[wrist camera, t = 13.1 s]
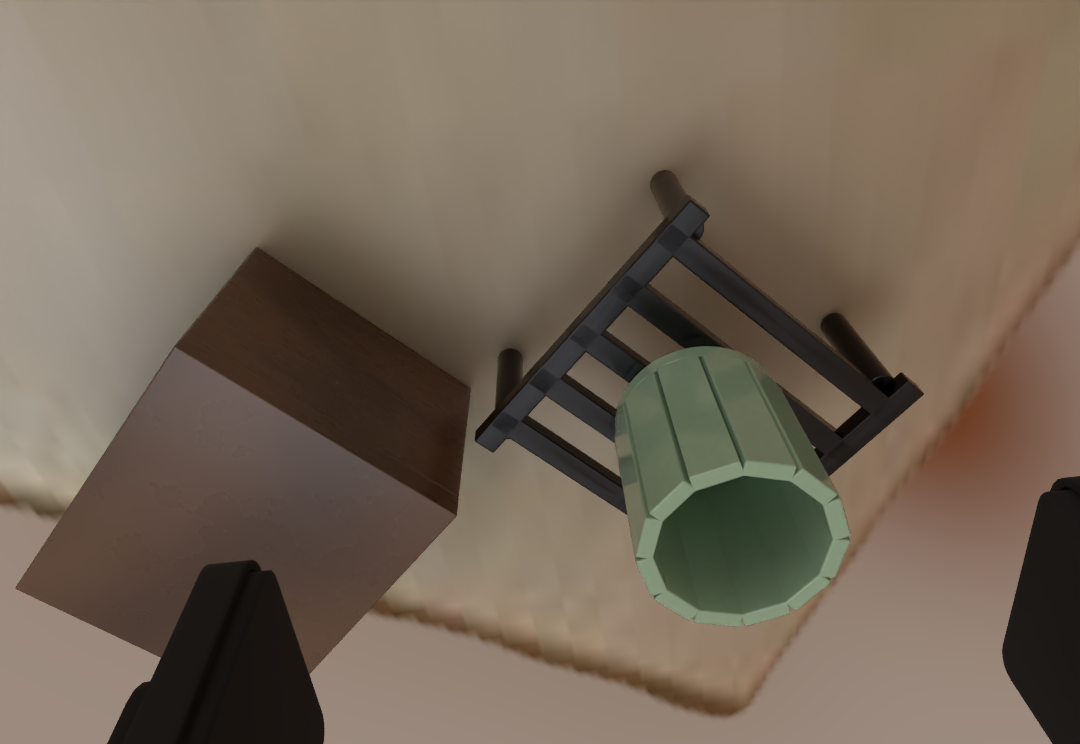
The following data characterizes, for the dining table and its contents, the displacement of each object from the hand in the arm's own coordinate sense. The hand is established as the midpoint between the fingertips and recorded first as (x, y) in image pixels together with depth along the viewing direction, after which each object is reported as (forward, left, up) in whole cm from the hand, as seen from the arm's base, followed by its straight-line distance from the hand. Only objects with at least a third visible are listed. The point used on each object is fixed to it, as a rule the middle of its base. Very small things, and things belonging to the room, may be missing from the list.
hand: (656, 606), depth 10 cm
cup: (+11, -5, -21) cm, 24 cm away
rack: (+11, -5, -28) cm, 31 cm away
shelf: (-1, -20, -28) cm, 34 cm away
